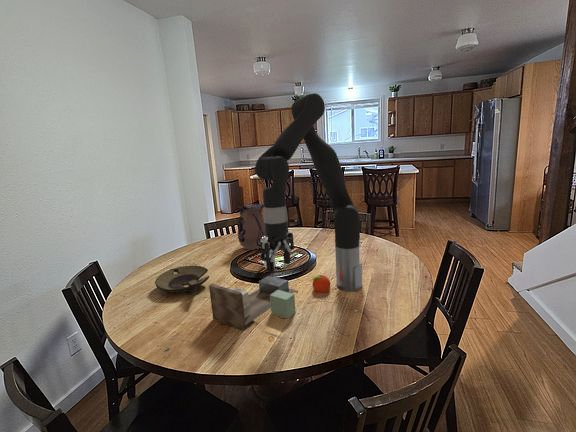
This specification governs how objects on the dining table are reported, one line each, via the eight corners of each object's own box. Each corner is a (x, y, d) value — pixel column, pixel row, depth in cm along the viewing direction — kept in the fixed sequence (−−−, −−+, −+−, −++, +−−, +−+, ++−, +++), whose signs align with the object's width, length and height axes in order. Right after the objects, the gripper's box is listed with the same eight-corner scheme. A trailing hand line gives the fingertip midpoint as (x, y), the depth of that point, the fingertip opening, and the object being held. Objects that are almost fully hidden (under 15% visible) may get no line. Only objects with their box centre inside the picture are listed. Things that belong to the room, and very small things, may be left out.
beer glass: (270, 272, 147) (268, 241, 143) (259, 269, 151) (256, 239, 148) (280, 267, 152) (277, 237, 149) (269, 264, 156) (266, 235, 153)
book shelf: (296, 293, 124) (294, 262, 122) (242, 330, 101) (238, 294, 98) (269, 285, 133) (266, 257, 130) (213, 319, 109) (208, 285, 107)
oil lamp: (209, 272, 152) (207, 257, 151) (211, 299, 124) (208, 281, 122) (160, 279, 147) (158, 264, 146) (150, 310, 119) (146, 291, 117)
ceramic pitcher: (235, 246, 189) (231, 205, 183) (268, 240, 197) (265, 200, 192) (244, 255, 173) (240, 210, 168) (279, 247, 182) (276, 204, 176)
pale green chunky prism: (295, 315, 108) (294, 294, 106) (287, 322, 105) (286, 299, 103) (279, 310, 112) (278, 289, 110) (271, 316, 109) (269, 294, 107)
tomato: (313, 298, 119) (312, 280, 118) (307, 290, 126) (306, 274, 124) (333, 294, 121) (332, 277, 120) (326, 287, 128) (325, 270, 126)
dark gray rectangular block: (289, 291, 124) (288, 280, 123) (279, 297, 119) (278, 286, 118) (269, 285, 130) (268, 275, 129) (259, 291, 125) (258, 281, 124)
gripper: (270, 226, 94) (274, 277, 97) (298, 216, 104) (300, 262, 108) (251, 223, 98) (256, 272, 102) (280, 214, 109) (283, 258, 113)
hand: (279, 267), depth 105 cm, fingers open, 8 cm apart
